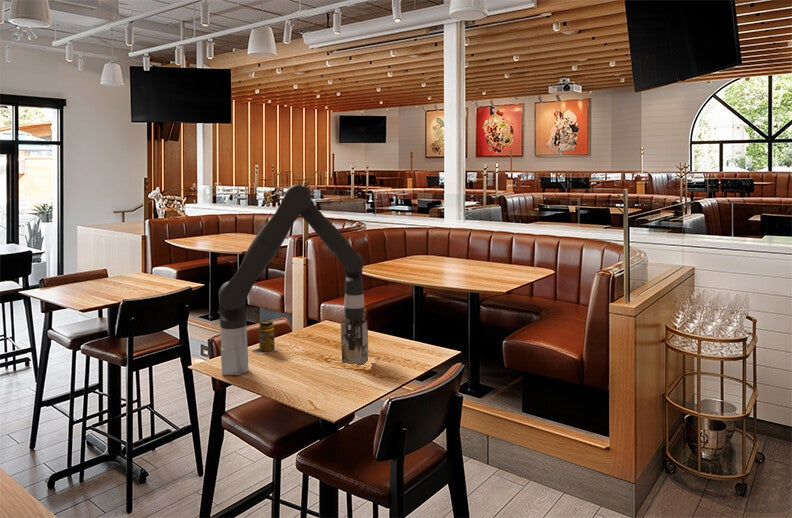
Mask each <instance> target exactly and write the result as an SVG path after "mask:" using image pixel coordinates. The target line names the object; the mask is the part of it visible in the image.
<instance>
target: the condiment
mask: <svg viewBox="0 0 792 518" xmlns="http://www.w3.org/2000/svg"><path fill="white" fill-rule="evenodd" d="M258 337H259V338H258V339H259V340H258V341H259V344H258V345H259V346H258V347H259V348H255V349H251V351H252V352H254V353H256V354H258V355H265V354H269V353H273V352H274V353H275V352H278V351H279V348H278V349H277V348H276V347H275V346H276V345H275V328H274V322H273V321H272V320H262V321H260V322H259V329H258Z"/></svg>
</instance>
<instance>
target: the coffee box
mask: <svg viewBox="0 0 792 518" xmlns="http://www.w3.org/2000/svg"><path fill="white" fill-rule="evenodd" d="M368 323H369V322H368V320H367V319H363V320H358V321H357V322H356V323H355V328H354V329H353V332H355V331H357V334H356V336H355V349H354V350H349V341H348V340H346V325H347V324H349V319H346V318H345V319H343V320H342V321H341V322H340V342H341V345H340V346H341V354H342V363H348V364H357V365H364V364H365V363H366V362H367V361H368V356H369V334H368V333H369V328H368ZM350 331H351V330H350ZM350 337H351V335H350Z"/></svg>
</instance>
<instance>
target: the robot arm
mask: <svg viewBox="0 0 792 518" xmlns="http://www.w3.org/2000/svg"><path fill="white" fill-rule="evenodd" d="M299 217H301V218H302V219H303V220H304V221H305V222H306V223H307V224H308V225H309V226H310V227H311V228H312V230H313V231H314V233H315V234H316V235H317V236H318V237H319V238H320V240H321V241H322V242H323V243H324V244H325V246H326V247H327V248H328V249H329V250H330V252H331V253H332V254H334V255H335V256H336V258H337V259H338V260H339V262H340V263H341V264H342V265H343V268H344V269H343V270H344V299H343V300H344V305H343V306H344V307H343V308H344V318H345V319H349V324H347V325H346V340H348V341H349V350H354V349H355V336H356V334H357V331H355V332H353V329H354V328H355V323H356V322H357V321H358V320H364V318H365V297H364V295H365V294H364V279H363V268H364V264H365V263H364V262H365V261H364V259H363V257H362V255H361V254H360V253H358V252H357V251H356V250H355V249H354V248H353V247H352V245H350V243H349V242H348V240H347V239H346V237H345V236H344V235H343V234H342V233H341V232H340V230H339V229H338V228H337V227H336V226H335V225H334V224H333V223H332V222H331V221H330V219H329V220H328V218H327V217H325V216H324V214H323V213H322V212H321V211H320V210H319V208H318V207H317V206H316V205H315V203H314V201H313V200H312V197H311V193H310V191H309V188H308V187H306V186H304V185H302V184H294V185H292V186H290V187H288V189H286V191H285V193H284V197H283V198H282V201H281V202H280V204H279V205H278V207H277V209H276V211H275V213H274V214H273V215H272V217H271V218H270V219H269V220H268V221H267V223H265V224H264V225H263V227H262V228H261V229H260V231H259V232H258V233H257V235H256V236H255V237H254V239H253V240H252V242H251V244H249V247H248V248H247V251H246V253H245V254H244V257H243V259H242V260H241V261H242V262H241V264H240V266H239V268H238V269H237V271H236V272H235V274H234V275H233V277H231V279H230V280H229V281H225V282H224V283H223V284H222V285H221V286H220V288H219V290H218V306H219V307H218V308H219V324H220V325H219V326H220V327H219V329H220V345H221V348H220V360H221V361H220V363H221V364H220V365H221V375H222V376H233V375H236V377H237V375H238V376H239V374H240V375H244V374H246V373H248V372H249V370H250V369H249V350H248V349H249V347H248V345H249V344H248V327H247V324H248V323H247V321H248V320H247V309H246V300H247V298H248V295H249V294H250V292H251V290H252V289H253V286H254V285H255V283H256V281H257V280H258V278H259V277H260V276H261V275H262V273H263V272H264V271H265V270H266V268H267V267H268V265H269V264H270V263H271V262H272V260H273V259H274V257H276V254H277V253H278V251H279V250H280V249H281V246H282V245H283V244H284V241H285V240H286V238H287V235H288V234H289V232H290V229H291V228H292V226H293V225H294V223H296V221H297V219H298V218H299ZM350 330H351V331H350ZM350 335H351V337H350ZM243 373H244V374H243Z"/></svg>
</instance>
